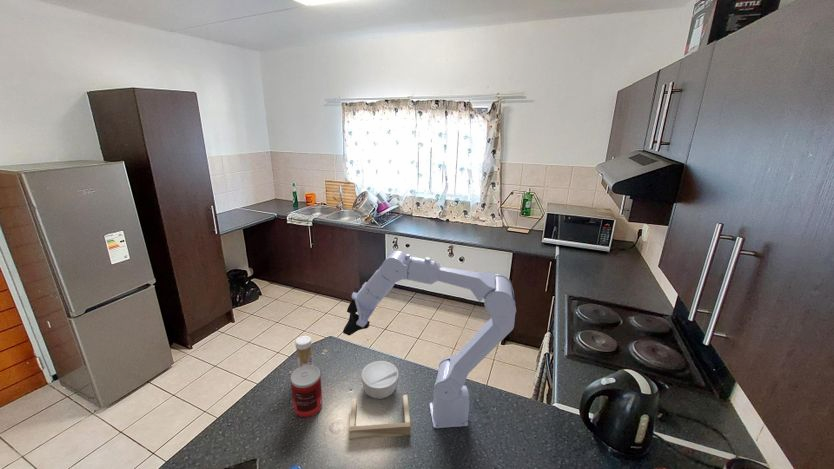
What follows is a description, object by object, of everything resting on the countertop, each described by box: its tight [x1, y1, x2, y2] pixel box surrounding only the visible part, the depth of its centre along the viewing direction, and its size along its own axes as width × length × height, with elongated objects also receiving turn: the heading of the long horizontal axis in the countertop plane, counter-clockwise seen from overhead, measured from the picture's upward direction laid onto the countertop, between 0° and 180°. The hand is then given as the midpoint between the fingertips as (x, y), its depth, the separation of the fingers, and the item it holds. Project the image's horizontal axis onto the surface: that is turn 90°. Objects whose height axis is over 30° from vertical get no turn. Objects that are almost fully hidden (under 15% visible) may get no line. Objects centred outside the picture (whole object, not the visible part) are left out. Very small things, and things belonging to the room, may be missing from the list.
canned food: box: [290, 364, 323, 418], centre depth 88 cm, size 8×8×11 cm
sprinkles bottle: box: [294, 335, 314, 368], centre depth 99 cm, size 5×5×13 cm
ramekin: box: [360, 360, 400, 400], centre depth 97 cm, size 11×11×5 cm
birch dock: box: [348, 394, 411, 441], centre depth 86 cm, size 10×15×3 cm, turn 96°
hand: (348, 322), depth 86 cm, fingers open, 7 cm apart
